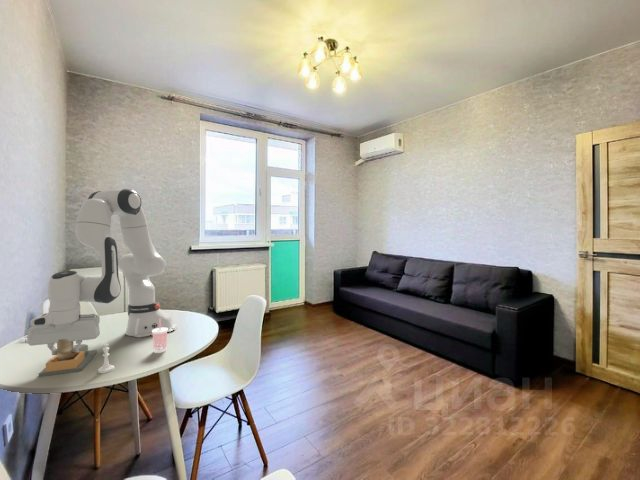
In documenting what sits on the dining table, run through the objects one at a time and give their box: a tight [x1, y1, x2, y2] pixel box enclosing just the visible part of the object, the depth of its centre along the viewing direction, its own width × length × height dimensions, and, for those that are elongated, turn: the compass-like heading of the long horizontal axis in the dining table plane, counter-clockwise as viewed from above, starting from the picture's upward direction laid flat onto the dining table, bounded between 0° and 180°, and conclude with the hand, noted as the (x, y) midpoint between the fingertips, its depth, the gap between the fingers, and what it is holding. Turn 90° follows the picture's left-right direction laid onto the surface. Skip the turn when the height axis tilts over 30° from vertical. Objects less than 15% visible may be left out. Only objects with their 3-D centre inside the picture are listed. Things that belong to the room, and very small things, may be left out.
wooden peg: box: [56, 339, 74, 361], centre depth 107 cm, size 4×4×9 cm
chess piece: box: [97, 342, 115, 374], centre depth 106 cm, size 5×5×10 cm
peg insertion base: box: [38, 343, 98, 378], centre depth 111 cm, size 12×17×4 cm
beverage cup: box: [152, 318, 168, 354], centre depth 123 cm, size 6×6×14 cm
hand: (65, 353), depth 107 cm, fingers closed on wooden peg, 4 cm apart
